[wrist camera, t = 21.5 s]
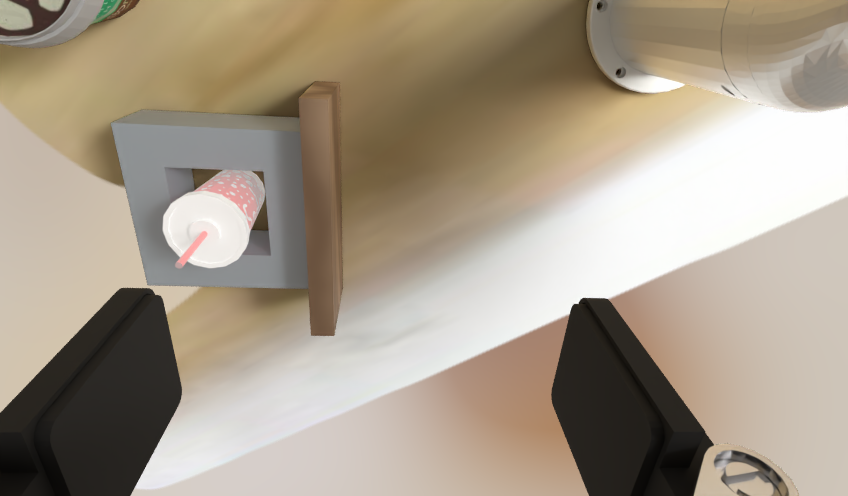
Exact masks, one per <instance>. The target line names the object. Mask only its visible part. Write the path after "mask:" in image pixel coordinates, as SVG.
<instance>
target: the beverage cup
mask: <svg viewBox="0 0 848 496" xmlns="http://www.w3.org/2000/svg"><path fill="white" fill-rule="evenodd" d="M264 198H265V189H264V185H263V183H262V181H261V180H260V179H259V177H258V176H257V175H256V174H255V173H253V172H252V171H242V170H222V171H221V172H219V173H218V174H216V175H215V176H214V177H212V178H211V179H210V180H208V181H207V182H205V183H204V184H203V185H201V186H200V187H199V188H197V189H196V190H195V191H193V192H188V193H187V194H185V195H183V196H182V197H180V198H178V199H177V200H175V201H174V202H172V203H171V204H170V206H169V208H168V209H167V211H166V213H165V214H164V216H163V233H164V235H165V238H166V240H167V243H168V245H169V246H170V247H171V248H172V249H173V250H174V251H175V253H176V254H177V255H178V256H179V257H180V259H179V260H178V261H177V262H176V263H175V267H176V268H179V269H180V268H182V267H183V266H184V264H185V263H186V262H187V261H188V262H190V263H191V264H193V265H196V266H201V267H206V268H217V267H225V266H227V265H229V264H231V263H233V262H234V261H236V260H238V259H239V257H240V256H241V255H242V253H243V252H244V250H245V249H246V247H247V245H248V242H249V235H250V231H251V229H252V226H253V224H254V222H255V220H256V218H257V215H258V213H259V211H260V209H261V207H262V205H263V202H264Z"/></svg>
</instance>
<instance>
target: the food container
mask: <svg viewBox="0 0 848 496" xmlns="http://www.w3.org/2000/svg"><path fill="white" fill-rule="evenodd" d="M138 2H139V0H0V44H4V45H10V46H16V47H25V48H43V47H50V46H54V45H59V44H62V43H64V42H66V41H69V40H71V39H73V38H75V37H76V36H77V35H79V34H80V33H82V32H83V31H84V30H86V28H87V27H88V26H89V25H90V24H94V23H97V22H101V21H105V20H109V19H113V18H117V17H120V16H122V15H123V14H125V13H126V12H128V11H129V10H131V9H132V8H134V7H135V6H136V5H137V3H138Z"/></svg>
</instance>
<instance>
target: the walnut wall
mask: <svg viewBox="0 0 848 496" xmlns="http://www.w3.org/2000/svg"><path fill="white" fill-rule="evenodd" d="M298 99H299V118H300V137H301V155H302V174H303V193H304V212H305V231H306V250H307V269H308V288H309V307H310V326H311V336H334V335H335V329H336V323H337V318H338V312H339V306H340V301H341V295H342V289H343V270H342V205H341V140H340V83H336V82H319V81H315V82H314V83H313V84H312V85H311V86H310V87H309V88H308V89H307V90H306V91H305V92H304V93H303V94H302V95H301V96H300V97H299V98H298Z"/></svg>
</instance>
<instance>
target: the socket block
mask: <svg viewBox="0 0 848 496" xmlns="http://www.w3.org/2000/svg"><path fill="white" fill-rule="evenodd" d="M111 127H112V131H113V136H114V140H115V144H116V149H117V153H118V157H119V162H120V166H121V171H122V175H123V179H124V184H125V188H126V193H127V197H128V201H129V205H130V210H131V214H132V219H133V223H134V227H135V232H136V236H137V241H138V245H139V250H140V254H141V258H142V263H143V267H144V271H145V276H146V280H147V285H158V286H201V287H245V288H290V289H309V288H308V269H307V250H306V231H305V212H304V193H303V174H302V155H301V137H300V118H298V117H279V116H259V115H239V114H219V113H200V112H180V111H160V110H140V111H138V112H135V113H133V114H130V115H128V116H126V117H123V118H121V119H118V120H116V121H114V122H111ZM192 168H194V169H218V170H242V171H263V172H264V183H265V194H266V205H267V216H268V227H269V231H261V230H251V231H250V235H249V242H248V245H247V247H246V249H245V250H244V252H243V253H242V255H241V256H240V257H239V259H238V260H236V261H234V262H233V263H231V264H229V265H227V266H225V267H217V268H206V267H201V266H196V265H193V264H191V263H190V262H188V261H187V262H186V263H185V264H184V266H183V267H182V268H180V269H179V268H176V267H175V263H176V262H177V261H178V260H179V259H180V257H179V256H178V255H177V254H176V253H175V251H174V250H173V249H172V248H171V247H170V246H169V245H168V243H167V240H166V238H165V235H164V233H163V216H164V214H165V213H166V211H167V209H168V208H169V206H170V204H171V203H172V202H174V201H175V200H177V199H178V198H180V197H182V196H183V195H185V194H187V193H188V192H193V191H195V186H194V180H193V174H192Z"/></svg>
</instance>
